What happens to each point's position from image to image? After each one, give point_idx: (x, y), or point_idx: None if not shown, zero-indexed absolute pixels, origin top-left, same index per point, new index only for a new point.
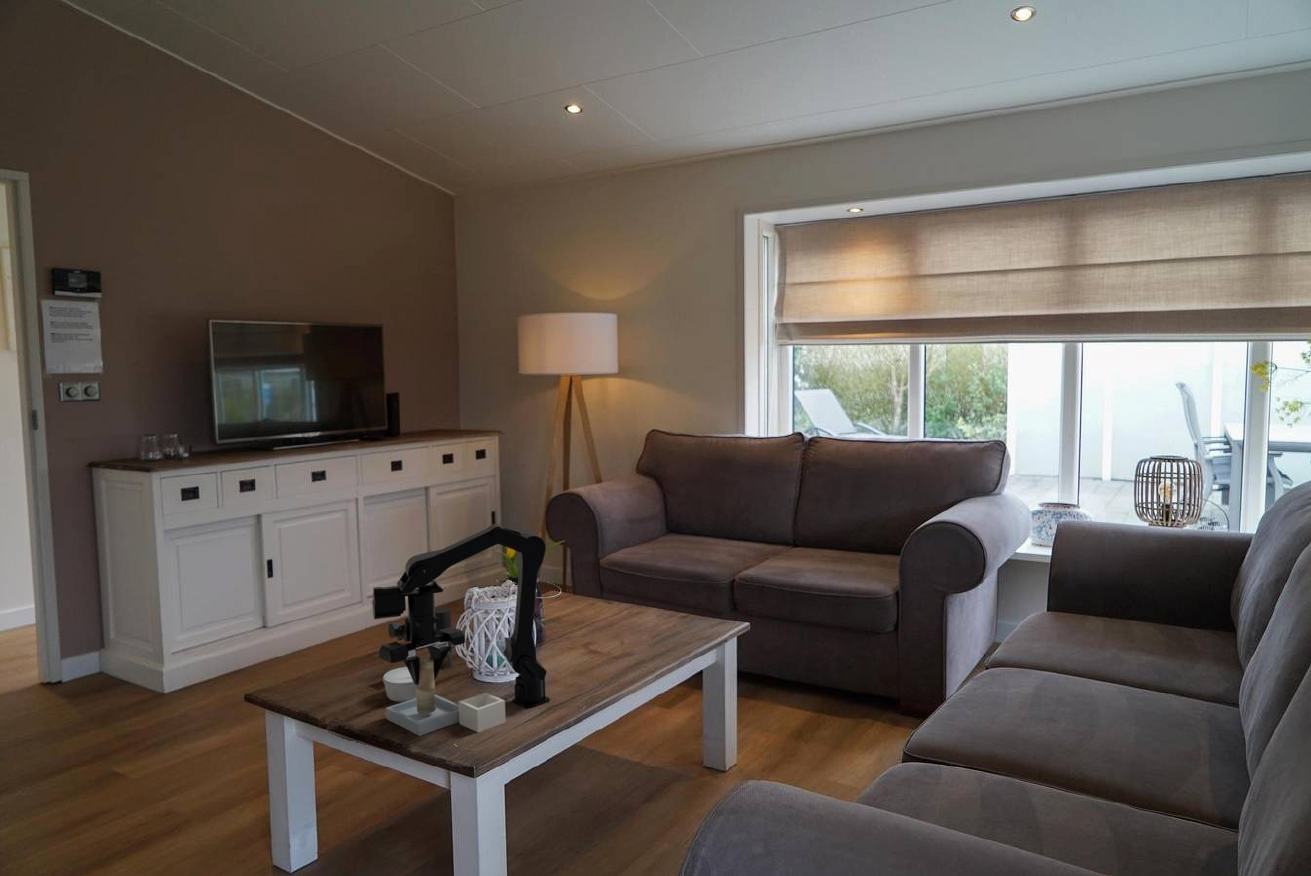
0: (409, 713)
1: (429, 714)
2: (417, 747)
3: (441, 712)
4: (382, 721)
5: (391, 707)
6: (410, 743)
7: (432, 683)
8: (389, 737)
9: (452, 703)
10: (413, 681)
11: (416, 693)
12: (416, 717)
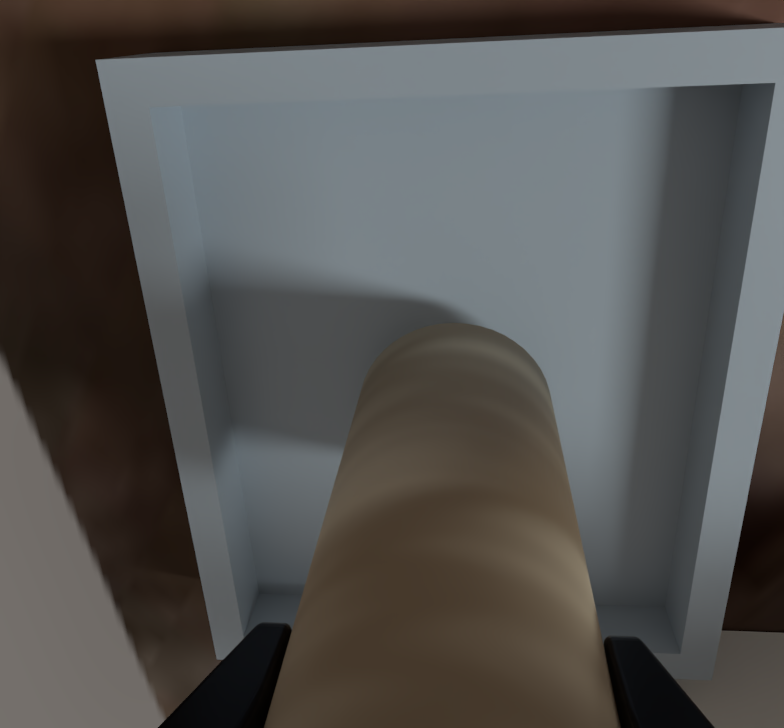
0: (344, 235)
1: None
2: (162, 701)
3: (585, 446)
4: (100, 90)
5: (159, 106)
6: (147, 633)
7: None
8: (53, 458)
9: (717, 513)
10: (233, 658)
11: (328, 505)
12: (347, 378)
